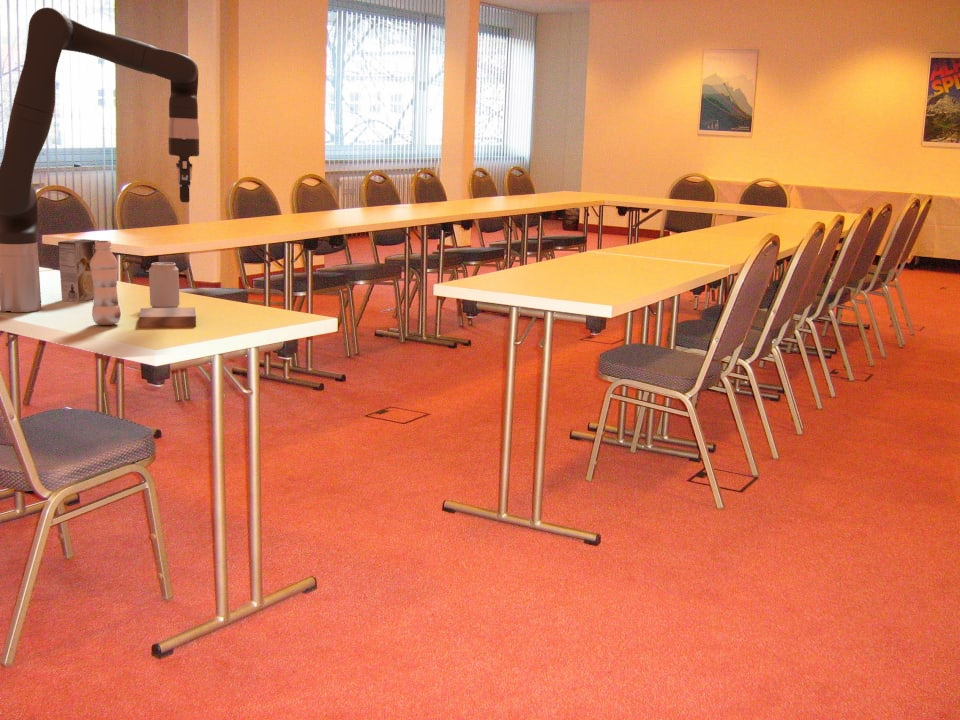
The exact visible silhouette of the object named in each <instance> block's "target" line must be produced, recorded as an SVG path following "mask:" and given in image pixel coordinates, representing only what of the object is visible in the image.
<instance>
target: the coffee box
mask: <svg viewBox="0 0 960 720" xmlns="http://www.w3.org/2000/svg"><path fill="white" fill-rule="evenodd" d="M95 241H100V240H99V239H98V240H95V239H85V238H84V239H81V238H80V239H72V240H64V241H63V240H61V241H58V242H57V244H58V245H57V246H58V249H57V250H58V260H59V261H58V263H59V275H60V290H61V293H60V294H61V301H66V300H69V302H78V303H81V302H85V301H91V300H94V289H93V288H94V286H93V280H92V274H91V268H90V261H91V259H92V257H93V255H94V254H95V252H96V249H95Z"/></svg>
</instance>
